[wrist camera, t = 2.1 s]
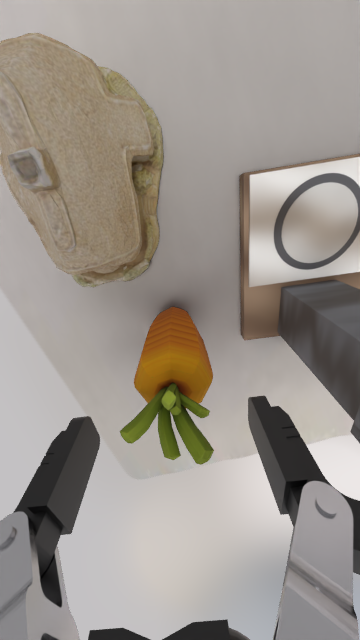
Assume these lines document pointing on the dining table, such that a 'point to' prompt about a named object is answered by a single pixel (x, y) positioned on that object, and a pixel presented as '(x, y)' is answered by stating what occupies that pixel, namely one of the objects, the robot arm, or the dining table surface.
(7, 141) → the ceramic model
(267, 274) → the dispenser stand
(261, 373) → the dining table surface
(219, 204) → the dining table surface
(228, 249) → the dining table surface
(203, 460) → the carrot
